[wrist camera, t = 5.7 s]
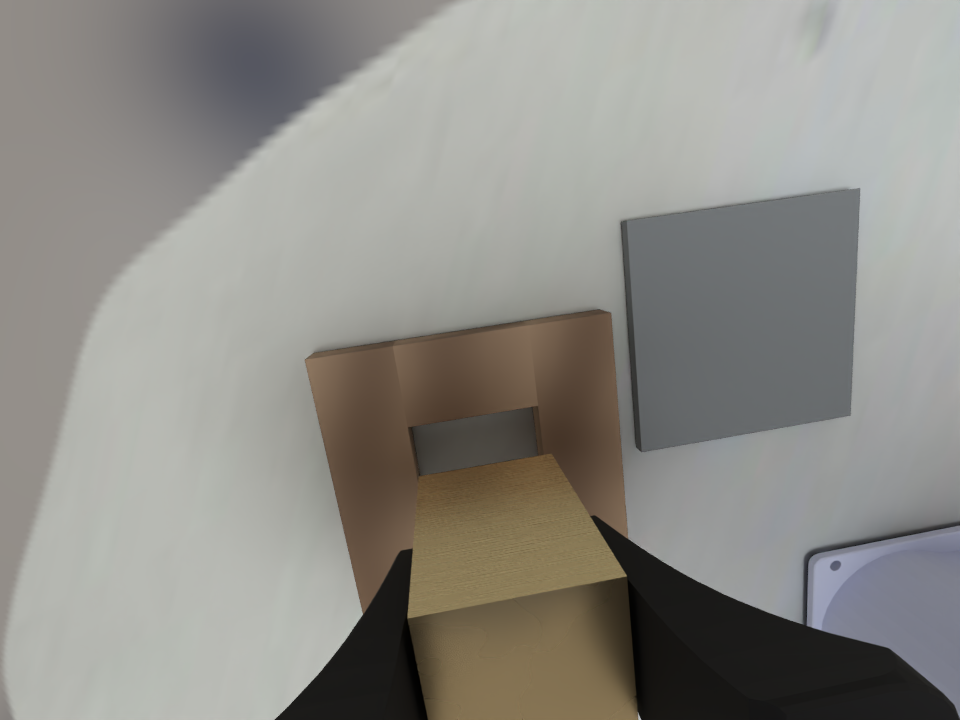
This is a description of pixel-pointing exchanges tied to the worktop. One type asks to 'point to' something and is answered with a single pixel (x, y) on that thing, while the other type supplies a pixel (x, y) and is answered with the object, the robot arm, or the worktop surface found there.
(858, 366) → the worktop surface
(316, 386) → the walnut square frame
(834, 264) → the charcoal mat
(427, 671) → the brass plug
